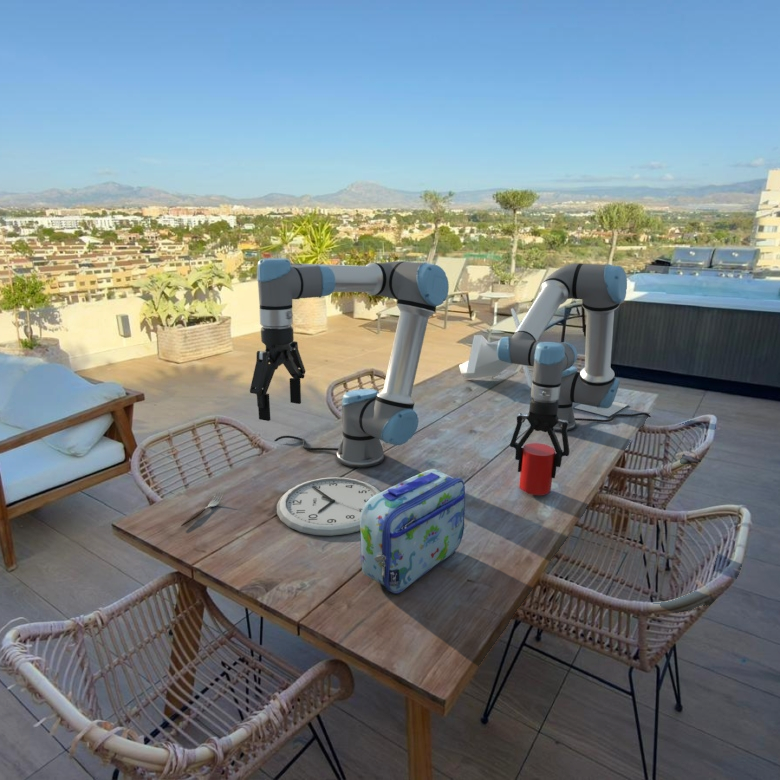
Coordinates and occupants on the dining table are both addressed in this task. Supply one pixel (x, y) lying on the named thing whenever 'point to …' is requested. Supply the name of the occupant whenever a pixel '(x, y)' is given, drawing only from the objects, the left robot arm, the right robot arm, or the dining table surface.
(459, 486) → the lunch box
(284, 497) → the wall clock
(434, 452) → the dining table surface
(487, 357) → the white plastic object
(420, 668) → the dining table surface
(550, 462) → the tin
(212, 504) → the fork
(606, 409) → the invitation card
